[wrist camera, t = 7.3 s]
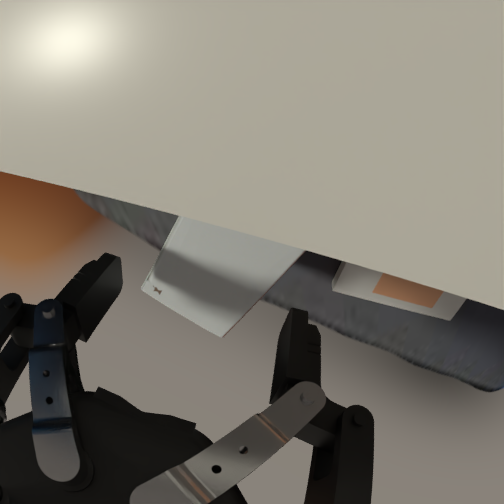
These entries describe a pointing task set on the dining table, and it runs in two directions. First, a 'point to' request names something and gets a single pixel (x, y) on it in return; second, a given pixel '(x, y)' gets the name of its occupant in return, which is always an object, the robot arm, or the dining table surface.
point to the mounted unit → (276, 121)
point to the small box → (216, 272)
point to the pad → (395, 291)
